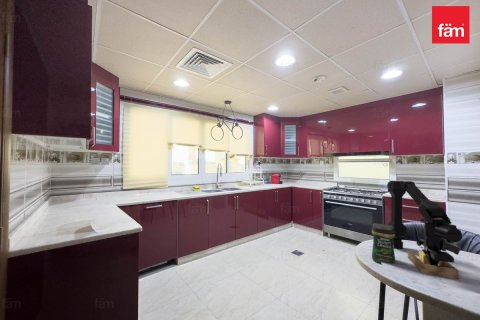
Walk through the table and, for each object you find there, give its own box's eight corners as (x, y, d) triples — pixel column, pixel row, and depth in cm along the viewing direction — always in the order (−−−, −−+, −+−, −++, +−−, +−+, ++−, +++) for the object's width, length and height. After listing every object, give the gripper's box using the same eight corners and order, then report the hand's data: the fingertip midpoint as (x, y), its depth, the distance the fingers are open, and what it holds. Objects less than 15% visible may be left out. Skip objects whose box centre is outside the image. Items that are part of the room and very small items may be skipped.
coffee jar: (371, 262, 100) (371, 224, 101) (372, 256, 107) (371, 221, 107) (396, 267, 95) (395, 228, 95) (395, 261, 101) (394, 224, 102)
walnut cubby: (421, 275, 88) (421, 264, 88) (407, 259, 102) (407, 250, 102) (458, 281, 83) (458, 270, 83) (438, 264, 98) (438, 254, 98)
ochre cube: (423, 266, 94) (423, 255, 94) (419, 261, 98) (418, 251, 98) (437, 268, 92) (437, 257, 92) (432, 263, 96) (431, 252, 96)
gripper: (471, 244, 78) (472, 284, 78) (445, 229, 96) (446, 262, 95) (434, 240, 83) (435, 278, 82) (415, 227, 100) (416, 258, 100)
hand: (433, 268), depth 90 cm, fingers closed
